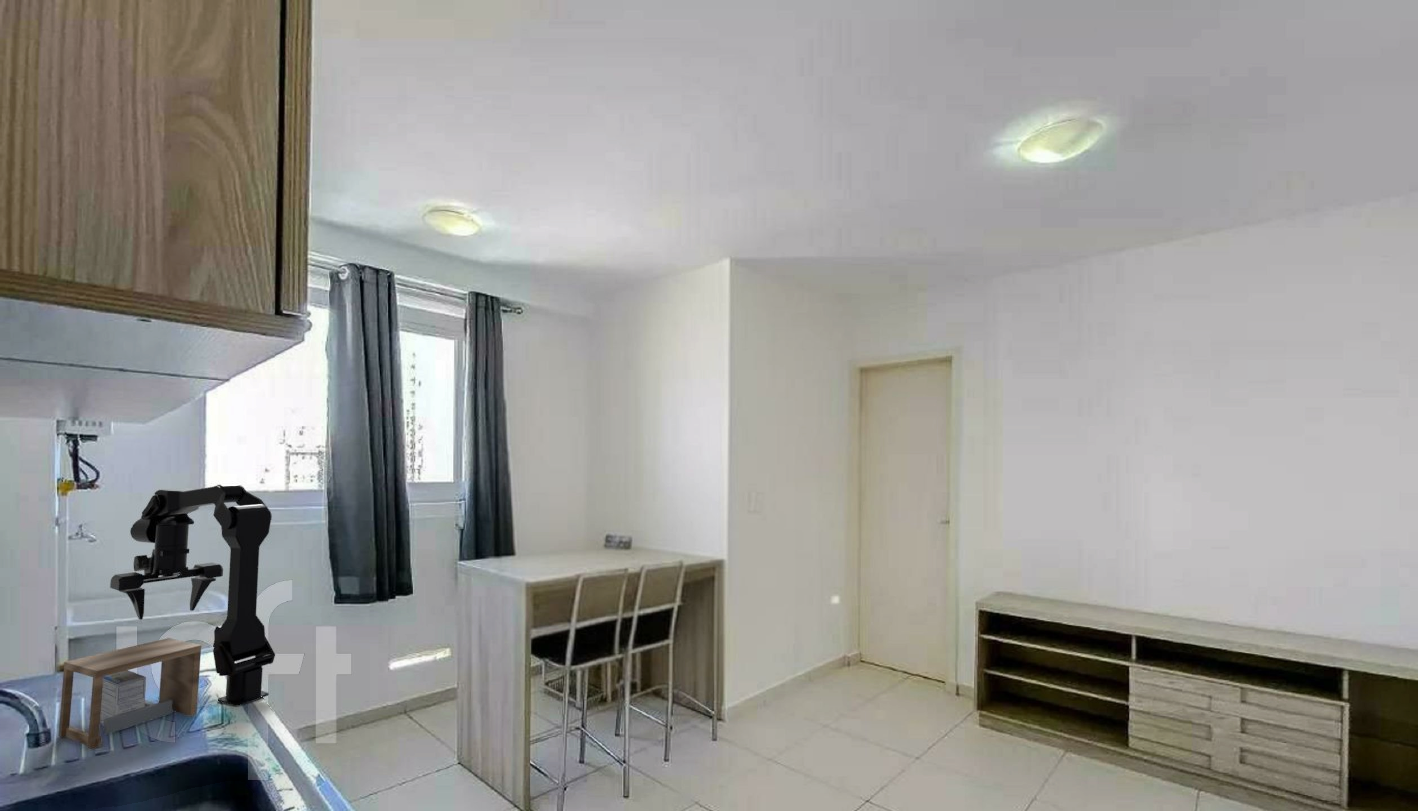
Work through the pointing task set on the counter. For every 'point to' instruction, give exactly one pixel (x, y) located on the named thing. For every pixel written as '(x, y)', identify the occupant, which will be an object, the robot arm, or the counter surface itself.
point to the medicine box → (122, 694)
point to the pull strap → (137, 716)
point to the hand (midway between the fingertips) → (166, 614)
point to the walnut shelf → (175, 669)
